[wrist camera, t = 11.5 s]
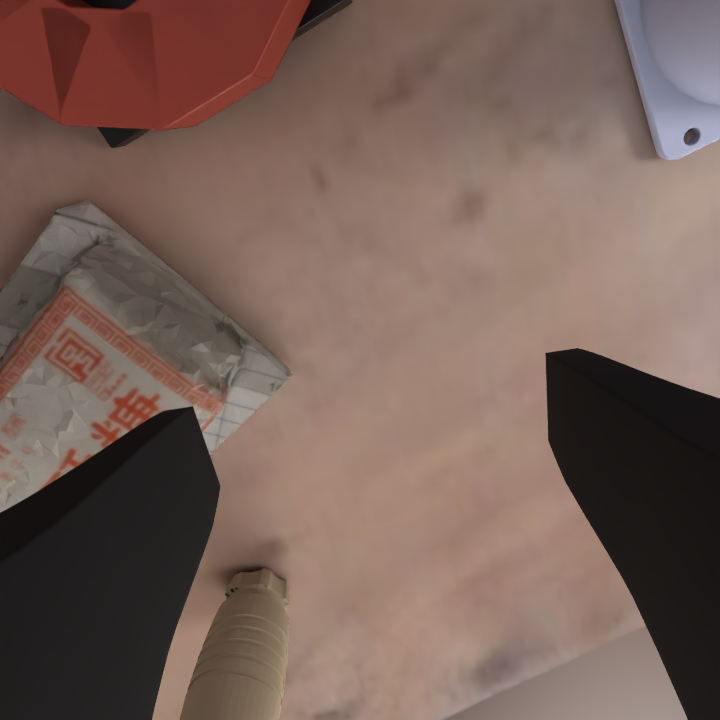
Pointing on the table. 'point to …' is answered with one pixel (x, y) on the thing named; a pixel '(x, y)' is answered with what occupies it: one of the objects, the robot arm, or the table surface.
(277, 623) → the handle
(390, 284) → the table surface
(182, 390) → the packaged product
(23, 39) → the ring
